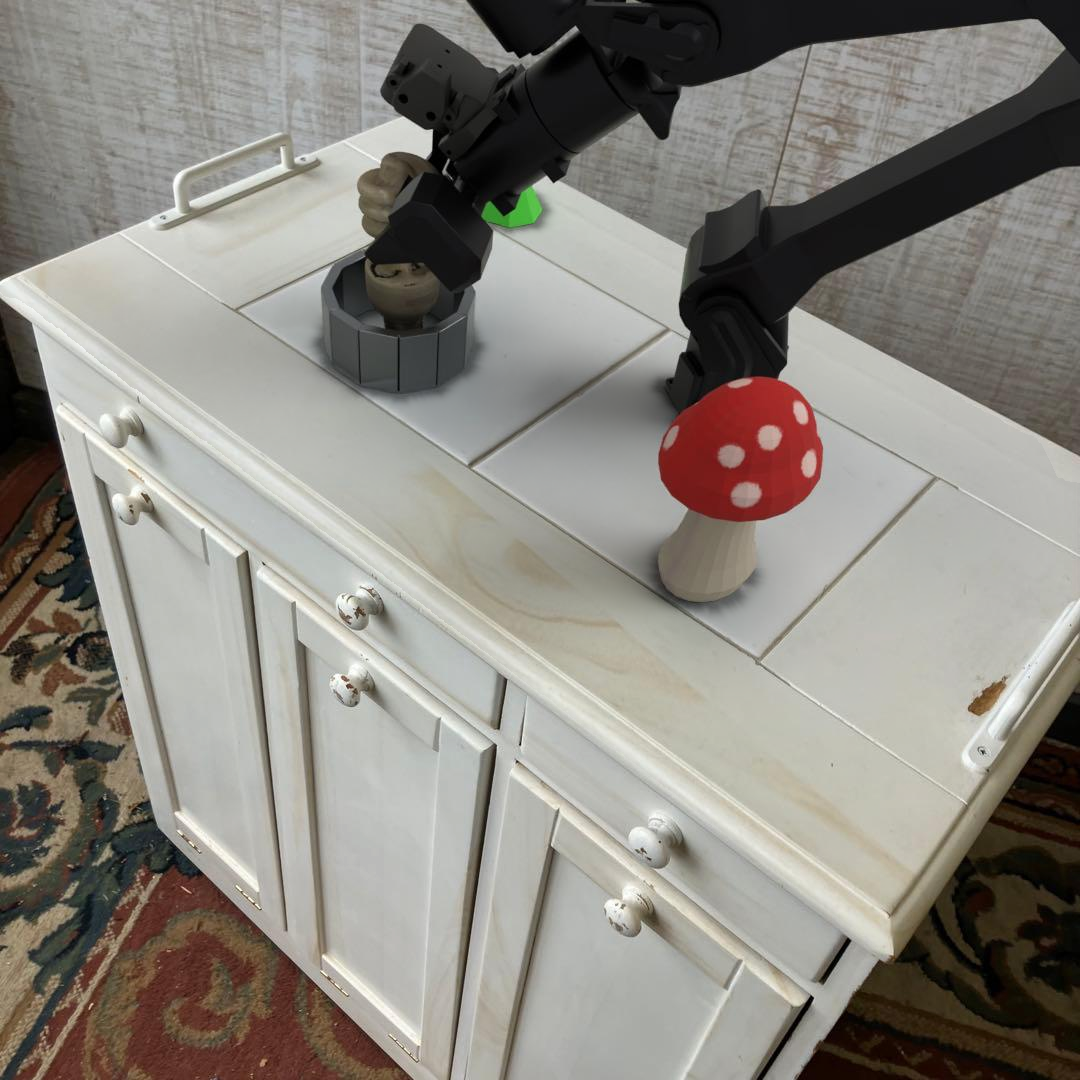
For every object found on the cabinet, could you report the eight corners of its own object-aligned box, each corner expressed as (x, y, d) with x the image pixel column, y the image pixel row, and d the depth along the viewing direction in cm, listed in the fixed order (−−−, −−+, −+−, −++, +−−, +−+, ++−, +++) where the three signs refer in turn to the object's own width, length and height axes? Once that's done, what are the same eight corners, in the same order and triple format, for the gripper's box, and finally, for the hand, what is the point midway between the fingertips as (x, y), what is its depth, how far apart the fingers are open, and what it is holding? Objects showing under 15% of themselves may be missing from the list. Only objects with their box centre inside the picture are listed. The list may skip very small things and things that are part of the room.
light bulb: (402, 380, 78) (401, 193, 67) (347, 346, 80) (337, 159, 69) (453, 345, 82) (461, 161, 70) (399, 313, 83) (398, 129, 72)
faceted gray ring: (447, 293, 86) (449, 238, 82) (488, 380, 79) (493, 325, 76) (312, 311, 83) (308, 255, 79) (344, 402, 76) (341, 346, 72)
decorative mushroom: (719, 500, 74) (777, 320, 62) (805, 586, 69) (885, 410, 58) (601, 554, 69) (640, 373, 58) (686, 651, 65) (746, 474, 54)
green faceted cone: (543, 229, 93) (551, 165, 88) (473, 225, 92) (477, 160, 88) (541, 191, 97) (548, 128, 92) (473, 186, 96) (477, 123, 92)
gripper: (501, -64, 68) (337, 78, 76) (426, 68, 55) (241, 220, 64) (608, 81, 73) (443, 198, 82) (562, 231, 61) (374, 350, 70)
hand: (380, 235), depth 74 cm, fingers closed on light bulb, 5 cm apart
